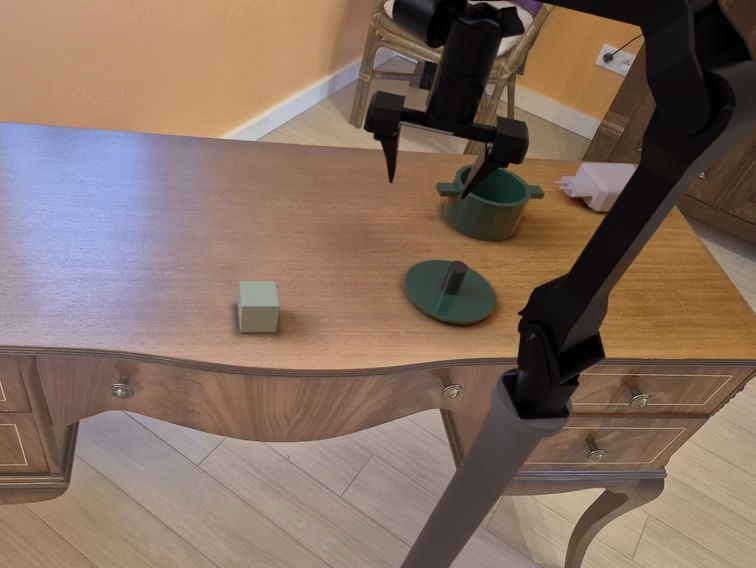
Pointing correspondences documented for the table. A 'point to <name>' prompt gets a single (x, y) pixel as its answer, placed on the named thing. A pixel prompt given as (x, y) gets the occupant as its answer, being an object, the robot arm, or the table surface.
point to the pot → (487, 203)
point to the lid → (449, 291)
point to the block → (258, 306)
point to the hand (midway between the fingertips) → (426, 189)
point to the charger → (598, 183)
